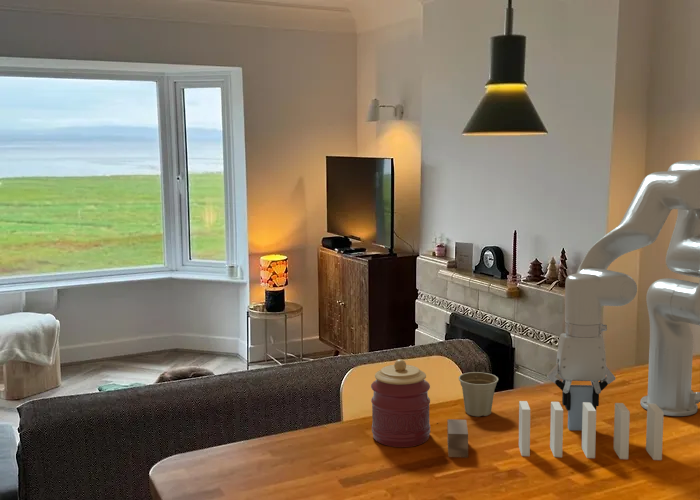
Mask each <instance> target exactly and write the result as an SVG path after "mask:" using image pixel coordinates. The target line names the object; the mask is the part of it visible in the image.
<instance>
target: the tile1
mask: <svg viewBox="0 0 700 500" xmlns="http://www.w3.org/2000/svg"><path fill="white" fill-rule="evenodd" d="M664 416H665V415H664V412H663V411H662V410H661V409H660V408H659V407H658V406H657V405H656V404H647V410H646V436H645V438H646V439H645V450H646V452H647V453H648V455H649V456H650V457H651V458H652V460H653V461H662V460H663V440H664V438H663V436H664Z"/></svg>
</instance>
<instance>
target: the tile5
mask: <svg viewBox="0 0 700 500" xmlns="http://www.w3.org/2000/svg"><path fill="white" fill-rule="evenodd" d="M518 402H519V403H518V405H519V406H518V407H519V408H518V448H519V452H520V455H521V456H522V457H530V456H531V455H530V454H531V451H530V450H531V448H530V447H531V407H530V405H529V403H528V401H527V400H519V401H518Z"/></svg>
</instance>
